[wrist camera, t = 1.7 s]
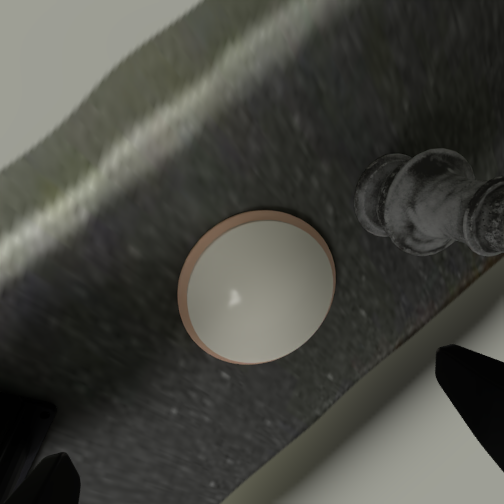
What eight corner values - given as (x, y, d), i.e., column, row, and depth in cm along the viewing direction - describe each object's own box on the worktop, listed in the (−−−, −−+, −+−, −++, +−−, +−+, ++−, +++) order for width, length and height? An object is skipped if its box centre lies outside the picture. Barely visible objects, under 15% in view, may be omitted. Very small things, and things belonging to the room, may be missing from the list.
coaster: (286, 378, 24) (291, 387, 23) (148, 333, 20) (147, 342, 19) (359, 251, 22) (368, 255, 21) (225, 178, 19) (229, 180, 18)
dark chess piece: (394, 255, 23) (613, 352, 12) (332, 212, 21) (530, 281, 10) (445, 181, 23) (723, 211, 12) (386, 128, 21) (659, 103, 9)
